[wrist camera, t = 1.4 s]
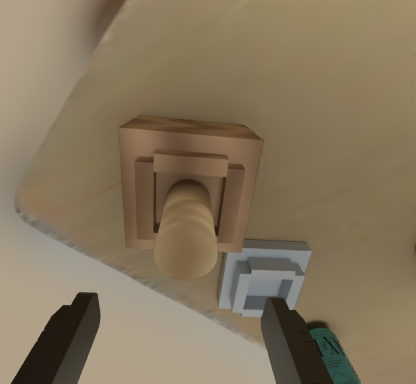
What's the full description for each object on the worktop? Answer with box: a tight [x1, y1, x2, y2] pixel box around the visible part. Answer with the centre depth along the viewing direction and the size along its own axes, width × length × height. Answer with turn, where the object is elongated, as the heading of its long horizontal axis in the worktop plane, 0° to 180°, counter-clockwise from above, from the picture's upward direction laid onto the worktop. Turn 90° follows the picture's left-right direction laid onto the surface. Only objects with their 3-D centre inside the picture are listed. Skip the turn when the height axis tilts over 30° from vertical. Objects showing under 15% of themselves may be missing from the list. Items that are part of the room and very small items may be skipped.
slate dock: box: [217, 239, 312, 317], centre depth 35 cm, size 12×12×4 cm
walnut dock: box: [119, 116, 264, 253], centre depth 25 cm, size 12×12×10 cm
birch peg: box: [153, 179, 218, 280], centre depth 18 cm, size 4×4×8 cm
